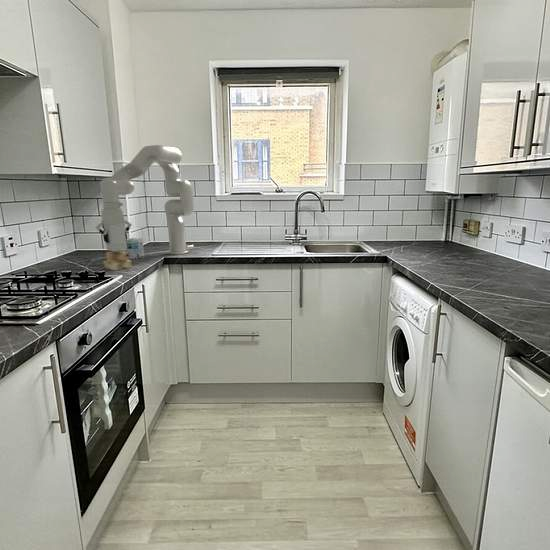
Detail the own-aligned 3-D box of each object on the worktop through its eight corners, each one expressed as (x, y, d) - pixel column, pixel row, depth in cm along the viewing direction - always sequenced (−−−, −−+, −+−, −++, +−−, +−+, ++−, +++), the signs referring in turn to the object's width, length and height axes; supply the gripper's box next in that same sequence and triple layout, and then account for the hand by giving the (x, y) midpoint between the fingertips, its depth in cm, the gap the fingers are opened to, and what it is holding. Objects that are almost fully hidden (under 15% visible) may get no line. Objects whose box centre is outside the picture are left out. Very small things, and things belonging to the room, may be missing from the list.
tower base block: (123, 265, 201) (122, 258, 200) (132, 268, 195) (131, 260, 194) (104, 268, 194) (103, 261, 193) (113, 271, 188) (112, 263, 187)
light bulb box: (134, 259, 215) (132, 240, 213) (123, 259, 217) (121, 240, 214) (144, 255, 225) (142, 237, 223) (134, 255, 227) (132, 237, 224)
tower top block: (125, 258, 199) (124, 250, 198) (127, 261, 191) (126, 253, 190) (106, 260, 196) (105, 252, 195) (107, 263, 188) (106, 255, 187)
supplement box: (127, 249, 193) (124, 224, 189) (112, 251, 187) (109, 225, 184) (120, 247, 198) (117, 223, 194) (106, 250, 192) (103, 224, 189)
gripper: (127, 204, 195) (131, 239, 199) (90, 206, 185) (95, 242, 189) (132, 205, 189) (136, 240, 193) (94, 207, 179) (99, 244, 183)
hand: (115, 241), depth 191 cm, fingers open, 8 cm apart
